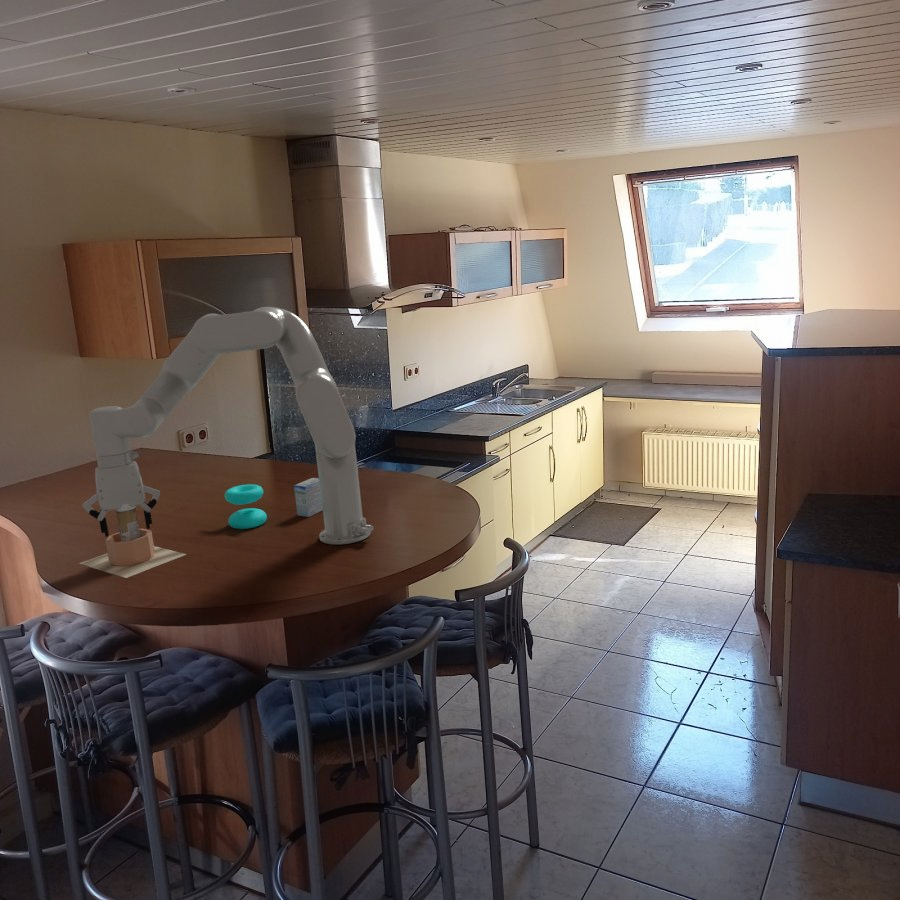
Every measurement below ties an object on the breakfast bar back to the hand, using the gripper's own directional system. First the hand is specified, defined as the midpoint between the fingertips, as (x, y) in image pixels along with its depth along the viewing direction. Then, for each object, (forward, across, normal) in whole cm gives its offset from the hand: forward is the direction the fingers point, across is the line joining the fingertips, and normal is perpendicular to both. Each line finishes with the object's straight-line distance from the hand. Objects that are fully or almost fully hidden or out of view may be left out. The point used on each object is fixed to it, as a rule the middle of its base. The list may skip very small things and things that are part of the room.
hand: (127, 531), depth 195 cm
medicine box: (+9, -47, -14) cm, 50 cm away
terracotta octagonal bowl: (+7, 0, 0) cm, 7 cm away
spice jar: (+6, 0, 0) cm, 6 cm away
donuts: (+9, -30, -15) cm, 34 cm away
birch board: (+8, 0, 0) cm, 8 cm away
